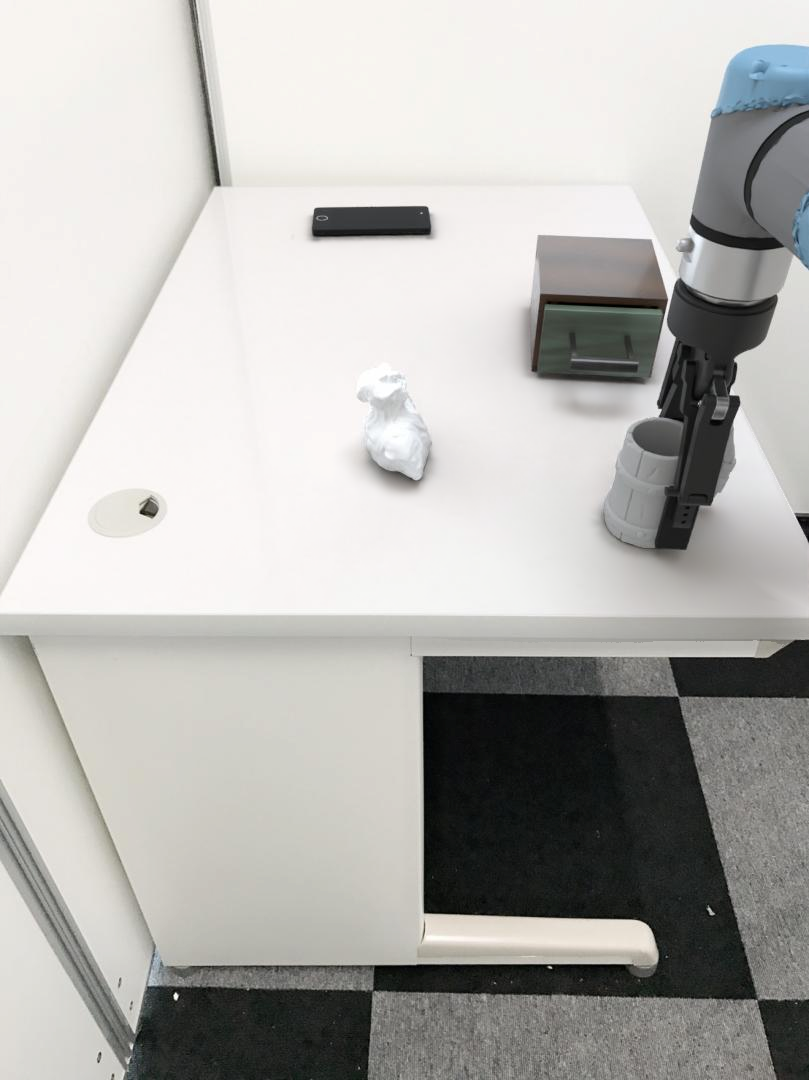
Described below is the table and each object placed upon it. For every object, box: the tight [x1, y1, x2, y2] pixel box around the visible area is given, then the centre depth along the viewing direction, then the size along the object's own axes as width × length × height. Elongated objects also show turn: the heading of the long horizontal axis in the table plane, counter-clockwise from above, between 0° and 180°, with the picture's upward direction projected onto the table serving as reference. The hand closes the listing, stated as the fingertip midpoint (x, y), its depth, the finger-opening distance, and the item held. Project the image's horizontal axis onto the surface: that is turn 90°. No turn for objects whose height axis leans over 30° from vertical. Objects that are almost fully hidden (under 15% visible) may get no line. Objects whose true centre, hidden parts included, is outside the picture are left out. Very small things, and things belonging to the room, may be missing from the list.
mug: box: [603, 416, 737, 549], centre depth 76 cm, size 8×12×12 cm, turn 106°
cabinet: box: [529, 234, 669, 378], centre depth 102 cm, size 16×14×10 cm
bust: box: [355, 362, 433, 481], centre depth 84 cm, size 12×8×11 cm
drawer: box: [537, 301, 663, 378], centre depth 97 cm, size 21×13×8 cm, turn 174°
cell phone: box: [311, 205, 432, 236], centre depth 131 cm, size 9×18×1 cm, turn 92°
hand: (664, 515), depth 79 cm, fingers closed on mug, 8 cm apart
